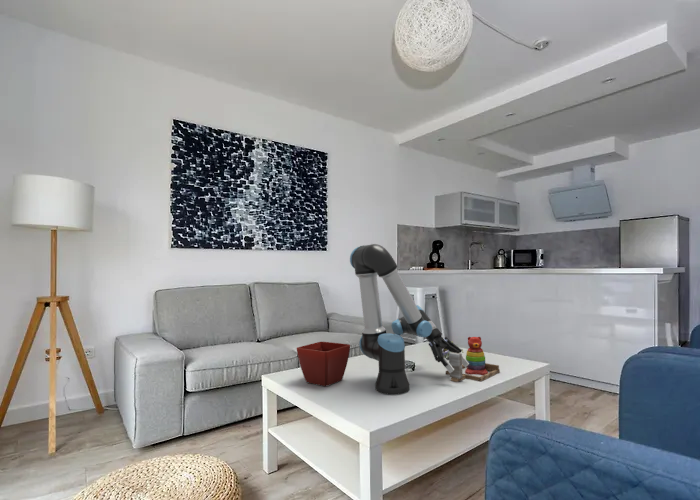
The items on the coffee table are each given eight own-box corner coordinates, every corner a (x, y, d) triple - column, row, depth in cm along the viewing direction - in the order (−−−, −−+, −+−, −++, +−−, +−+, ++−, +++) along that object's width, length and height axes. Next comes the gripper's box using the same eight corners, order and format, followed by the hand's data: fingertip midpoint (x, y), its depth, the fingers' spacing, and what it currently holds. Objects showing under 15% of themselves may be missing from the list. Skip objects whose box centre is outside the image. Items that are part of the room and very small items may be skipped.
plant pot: (321, 373, 192) (321, 340, 193) (352, 379, 181) (351, 344, 182) (296, 383, 177) (295, 347, 178) (327, 390, 166) (326, 351, 167)
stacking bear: (465, 375, 184) (463, 338, 185) (464, 369, 194) (463, 334, 195) (488, 376, 181) (487, 338, 182) (486, 370, 191) (484, 335, 192)
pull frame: (472, 385, 166) (471, 357, 167) (436, 377, 179) (435, 351, 180) (499, 372, 186) (498, 346, 187) (465, 366, 199) (464, 342, 200)
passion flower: (445, 368, 217) (434, 349, 222) (459, 362, 222) (448, 344, 227) (454, 361, 208) (442, 341, 214) (468, 354, 213) (457, 336, 219)
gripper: (440, 333, 195) (468, 368, 183) (411, 340, 177) (440, 379, 166) (449, 324, 191) (477, 358, 180) (420, 330, 174) (450, 369, 162)
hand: (460, 368), depth 173 cm, fingers open, 13 cm apart
